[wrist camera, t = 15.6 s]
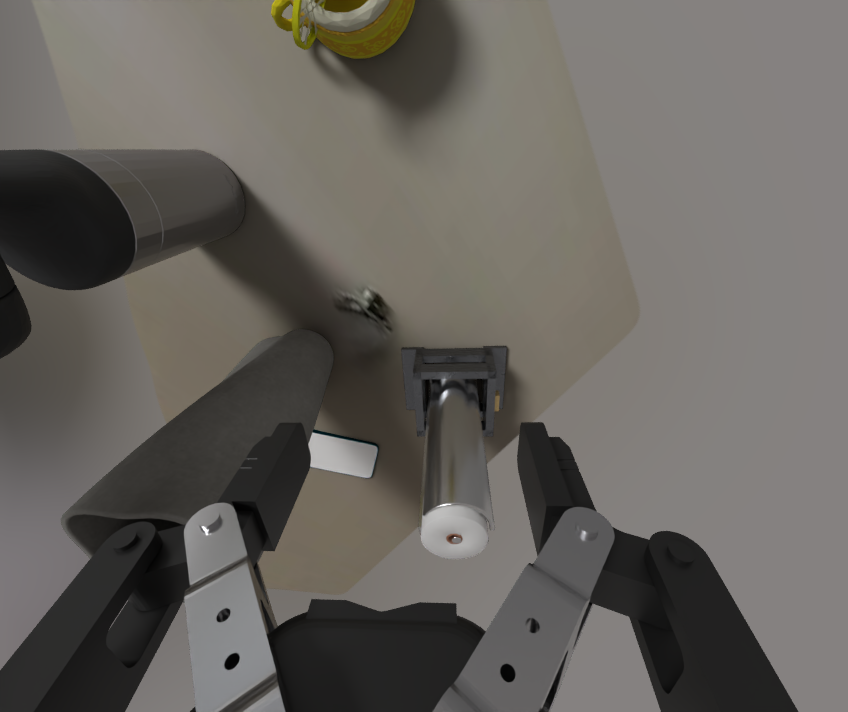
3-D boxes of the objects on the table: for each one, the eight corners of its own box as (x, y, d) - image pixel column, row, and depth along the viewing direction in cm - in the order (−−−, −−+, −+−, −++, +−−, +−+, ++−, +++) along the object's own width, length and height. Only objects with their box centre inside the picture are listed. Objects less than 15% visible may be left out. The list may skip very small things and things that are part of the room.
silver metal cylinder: (452, 404, 55) (455, 573, 33) (420, 378, 53) (401, 539, 31) (485, 378, 52) (512, 542, 30) (452, 349, 50) (457, 502, 28)
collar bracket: (407, 407, 55) (402, 436, 50) (401, 347, 50) (396, 372, 45) (502, 406, 54) (508, 436, 49) (506, 345, 50) (513, 371, 44)
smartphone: (380, 441, 60) (280, 420, 58) (379, 445, 59) (278, 424, 58) (372, 475, 64) (278, 456, 62) (371, 480, 63) (276, 460, 61)
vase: (341, 399, 55) (247, 623, 29) (259, 382, 55) (87, 597, 28) (351, 326, 49) (244, 525, 23) (258, 306, 49) (40, 488, 22)
